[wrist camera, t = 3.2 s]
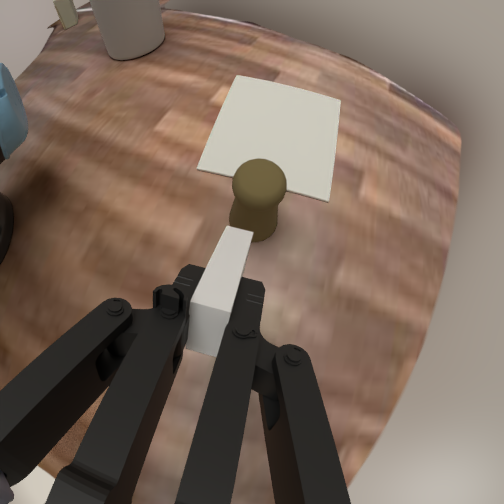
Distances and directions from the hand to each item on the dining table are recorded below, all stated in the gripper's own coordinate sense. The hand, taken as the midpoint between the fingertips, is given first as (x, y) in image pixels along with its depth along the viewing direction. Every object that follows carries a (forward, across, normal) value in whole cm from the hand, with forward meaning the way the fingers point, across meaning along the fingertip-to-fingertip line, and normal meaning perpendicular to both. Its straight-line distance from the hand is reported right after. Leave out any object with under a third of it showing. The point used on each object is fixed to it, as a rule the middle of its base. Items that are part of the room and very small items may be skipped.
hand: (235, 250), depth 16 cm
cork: (+19, 0, -6) cm, 20 cm away
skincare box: (+54, -66, +28) cm, 89 cm away
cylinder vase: (+43, -33, +17) cm, 57 cm away
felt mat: (+30, 0, +4) cm, 30 cm away
